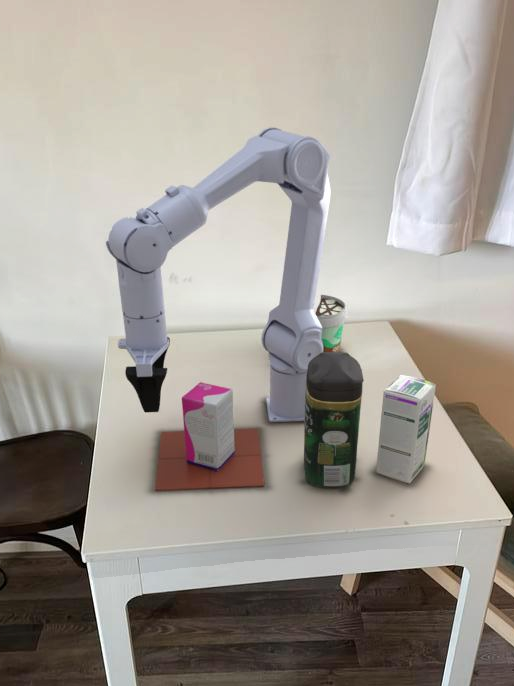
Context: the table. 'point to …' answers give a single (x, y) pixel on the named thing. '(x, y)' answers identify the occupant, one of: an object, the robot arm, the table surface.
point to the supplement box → (208, 425)
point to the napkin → (185, 476)
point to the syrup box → (405, 427)
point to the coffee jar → (332, 419)
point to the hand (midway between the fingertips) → (153, 398)
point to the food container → (331, 322)
